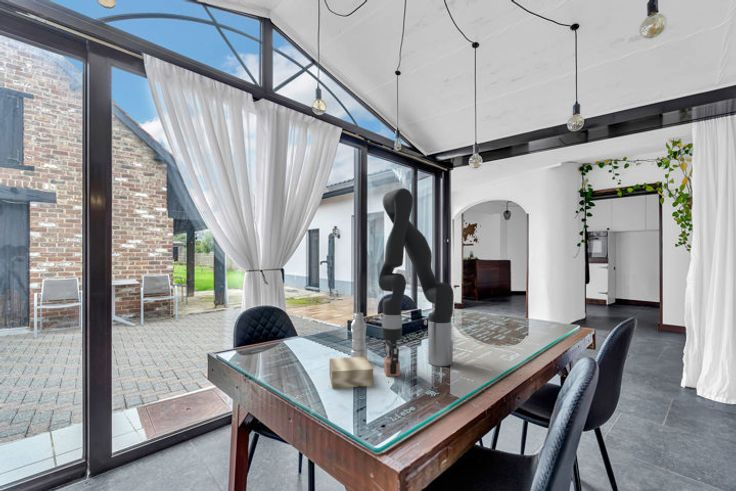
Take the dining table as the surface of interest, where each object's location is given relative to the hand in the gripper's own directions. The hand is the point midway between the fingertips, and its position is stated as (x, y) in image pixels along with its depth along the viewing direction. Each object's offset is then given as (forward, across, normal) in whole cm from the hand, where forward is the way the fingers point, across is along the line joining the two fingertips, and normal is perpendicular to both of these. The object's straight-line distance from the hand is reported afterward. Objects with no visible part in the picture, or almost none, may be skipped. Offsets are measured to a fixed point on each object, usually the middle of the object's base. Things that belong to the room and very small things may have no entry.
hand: (391, 371), depth 129 cm
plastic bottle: (+1, +16, +11) cm, 19 cm away
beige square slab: (+1, -4, +16) cm, 16 cm away
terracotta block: (+1, 0, 0) cm, 1 cm away
